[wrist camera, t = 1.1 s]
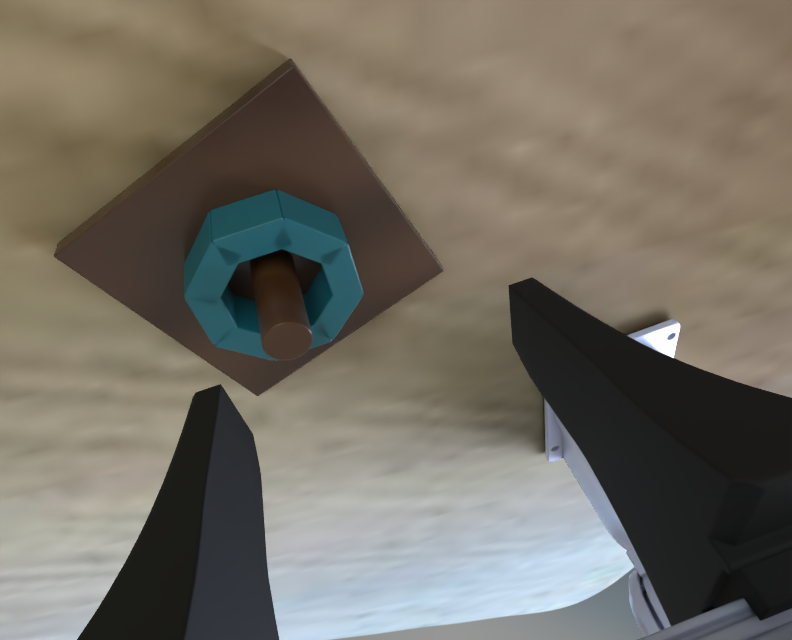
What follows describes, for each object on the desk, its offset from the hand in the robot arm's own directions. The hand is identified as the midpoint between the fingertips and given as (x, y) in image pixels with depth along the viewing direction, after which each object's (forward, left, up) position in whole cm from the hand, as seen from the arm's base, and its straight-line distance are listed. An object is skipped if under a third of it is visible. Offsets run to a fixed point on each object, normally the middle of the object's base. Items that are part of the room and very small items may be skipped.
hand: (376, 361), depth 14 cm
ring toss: (-2, +2, -9) cm, 10 cm away
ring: (-2, +2, -8) cm, 9 cm away
